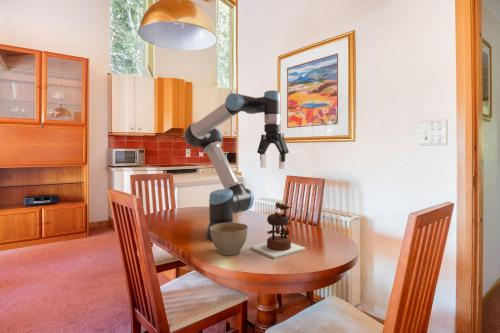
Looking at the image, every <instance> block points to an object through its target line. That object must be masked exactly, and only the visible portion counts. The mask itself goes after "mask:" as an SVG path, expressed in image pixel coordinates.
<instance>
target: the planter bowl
mask: <svg viewBox="0 0 500 333" xmlns="http://www.w3.org/2000/svg"><path fill="white" fill-rule="evenodd" d="M248 228H249V226H248V225H247V224H244V223H241V222H233V223H220V224H216V225H213V226H211V227H210V232H211V239H212V240H211V241H212V243H213V245H214V247H215V249H217V253H218V254H220V255H223V256H233V255H238V254H239V253H240V252H241V250H242V248H243V246H244V245H245V242H246V240H247V237H248V236H247V235H248Z"/></svg>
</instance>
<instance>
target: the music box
mask: <svg viewBox="0 0 500 333" xmlns="http://www.w3.org/2000/svg"><path fill="white" fill-rule="evenodd" d="M278 209H279V210H281V211H282V210H283V213H281V212H278V211H277V210H278ZM288 209H293V206H288V205H287V204H285V203H281V202H278V201H277V202H276V203H275V211H274V213H272V214H268V216H267V217H266V221H267V223H268V225H271V228H272V229H271V230H268V231H266V233H267V234H268V235H270V234H272V235H271V236H269V237H268V238H267V239H266V243H267V248H269V249H271V250H275V251H284V250H288V249H290V248H291V243H292V239H291V238H290V237H287V236H290V234H291V232H290V228H289V225H291V221H290V220H289V216H288V215H287V214H286V210H287V211H289V210H288ZM284 226H287V228H285V227H284ZM275 234H276V235H275Z"/></svg>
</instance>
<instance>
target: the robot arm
mask: <svg viewBox="0 0 500 333" xmlns="http://www.w3.org/2000/svg"><path fill="white" fill-rule="evenodd" d="M280 94H281V93H280V91H278V90H267V91H264V93H263V96H260V97H253V96H249V95H245V94H240V93H235V92H234V93H233V92H232V93H229V94H228V95H227V97H226V98H225V102H224V103H223V104H221V105H220V106H218V107H217V108H215V109H214V110H213V111H211V112H210V113H208V114H207V115H205V117H203V118H201V119H200V120H198V121H196V122H195V121H194V122H192V123H191V124H190V125H188V127H186V129H185V130H184V133H183V134H184V135H183V137H184V140H185V142H186V144H188V145H189V146H190V147H193V148H201V150H202V151H203V153H204V154H206V155H207V156H208V158H209V160H210V162H211V163H212V166H213V168H214V170H215V172H216V174H217V176H218V178H219V180H220V182H221V184H222V186H223V188H222V189H216V190H213V191H211V192H210V194H209V199H208V202H209V204H208V206H209V210H208V211H209V222H208V227H207V229H206V233H205V234H206V239H207V240H210V241H212V239H211V232H210V227H211V226H213V225H216V224H220V223H234V214H238V213H241V212H243V213H244V212H246V211H248V210H250V209H251V208H252V207H253V205H254V201H255V197H254V193H253V191H252V190H251V189H249V188H246V187H245V185H244V183H243V182H240V181H239V179H238V178H237V176H236V174H235V171H234V170H233V168H232V166H231V164H230V162H229V160H228V158H227V157H226V154H225V152H224V150H223V149H222V146H223V134H222V132H221V131H220V130H219V129H218V128H217V127H219V126H220V125H221V124H223V123H225V122H226V121H228V120H230V119H231V118H232V117H234V116H235V115H237V114H238V113H241V112H244V113H246V114H248V115H250V114H252V115H255V114H260V113H263V114H264V115H263V116H264V125H263V126H264V128H263V129H264V132H265V134H261V136H260V142H259V145H258V148H257V150H256V151H257V152H256V153H257V154H259V161H260V168H266V167H267V162H266V161H267V156H266V151H267V150H268V148H269V147H270V145H271V144H274V145H275V147H276V149H277V151H278V152H279V155H278V163H279V164H278V170H284V169H285V162H286V155H287V154H289V152H290V151H289V149H288V146H287V142H286V140H285V134H284V133H283V132H282V133H280V131H281V124H280V123H281V115H280V114H281V95H280Z"/></svg>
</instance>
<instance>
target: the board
mask: <svg viewBox="0 0 500 333" xmlns="http://www.w3.org/2000/svg"><path fill="white" fill-rule="evenodd" d="M306 249H307V248H306V247H304V246H302V245H298V244H297V243H293V242H291V248H290V249H288V250H284V251H275V250H271V249H269V248H267V242H264V243H260V244H256V245H252V246H250V250H253V251H256V252H258V253H259V254H262V255H265V256H268V257H270V258H272V259H279V258H282V257H286V256H289V255H292V254H296V253H299V252H302V251H306Z"/></svg>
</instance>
